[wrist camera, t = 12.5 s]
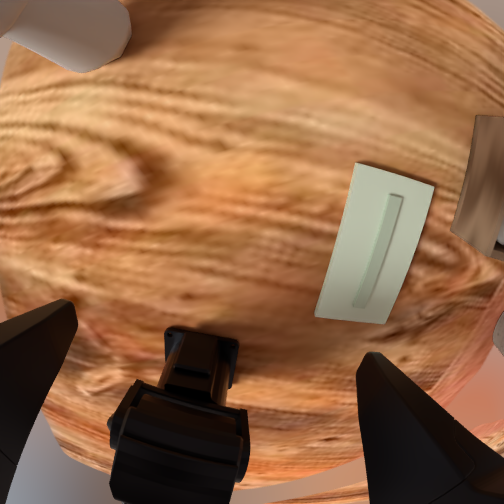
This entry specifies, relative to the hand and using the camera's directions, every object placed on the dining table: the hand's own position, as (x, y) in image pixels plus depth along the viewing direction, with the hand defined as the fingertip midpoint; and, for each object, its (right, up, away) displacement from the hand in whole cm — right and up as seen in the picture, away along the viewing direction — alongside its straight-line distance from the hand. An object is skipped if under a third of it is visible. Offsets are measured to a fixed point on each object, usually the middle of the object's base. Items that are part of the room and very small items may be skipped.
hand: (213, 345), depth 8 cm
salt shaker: (-9, +18, +7) cm, 21 cm away
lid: (+10, +3, +13) cm, 17 cm away
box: (+20, +8, +10) cm, 24 cm away
